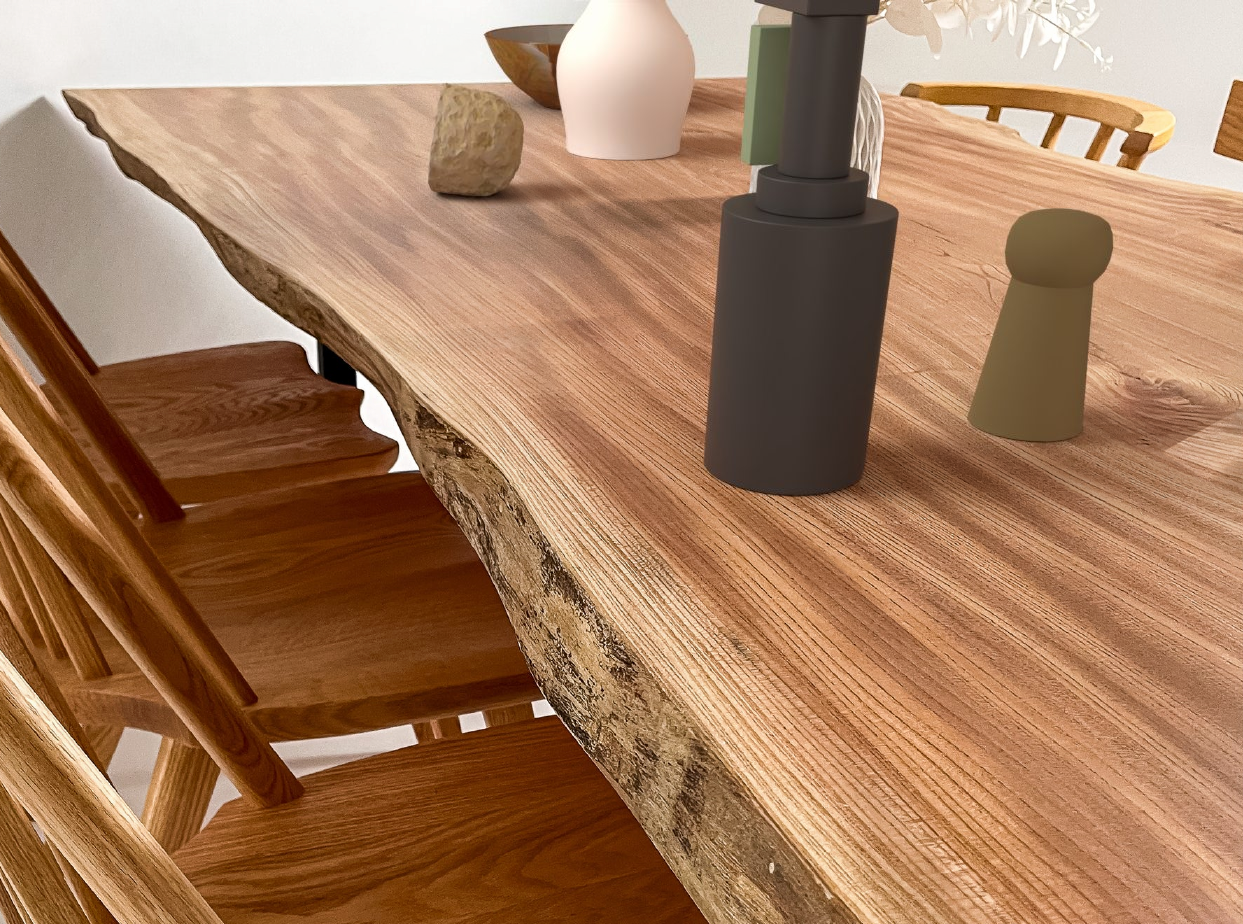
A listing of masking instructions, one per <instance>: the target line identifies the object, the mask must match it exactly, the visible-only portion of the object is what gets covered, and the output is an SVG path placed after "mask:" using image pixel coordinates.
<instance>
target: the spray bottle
mask: <svg viewBox="0 0 1243 924" xmlns="http://www.w3.org/2000/svg"><path fill="white" fill-rule="evenodd" d="M754 3H757V4H760V5H763V6H768V7H771V8H775V9H779V10H782V11H786V12H791V22H790V24H791V32H790V43H789V54H788V65H787V76H786V87H785V98H784V109H783V120H782V131H781V142H780V153H779V164H776V165H765V166H764V167H763V166H762V167H761V168H760V169H758V171H757V176H756V177H757V178H756V188H755V192H749V193H743V194H738V195H736V196H733V197H730V198H727V199H726V200H725V201H724V202H723V203H722V206H721V216H720V218H721V219H720V231H719V244H718V258H717V272H716V286H715V297H714V311H713V312H714V313H713V326H712V341H711V355H710V368H709V383H708V395H707V410H706V421H705V422H706V424H705V437H704V450H703V464H704V467H705V469H706V471H708V472H709V473H710V474H711V475H712V476H713V477H715V478H716V479H718V480H720V481H722V482H724V483H727V484H729V485H732V486H735V487H737V488H741V489H744V490H747V491H751V492H752V491H753V492H757V493H763V494H764V493H765V494H769V495H779V496H780V495H781V496H812V495H821V494H827V493H832V492H836V491H841V490H843V489H846V488H848V487H851V486H853V485H854V484H856V483H857V482H859V481H860V479H862V477H863V475H864V472H865V468H866V467H865V466H866V460H867V459H866V458H867V452H868V444H869V436H870V429H871V422H872V414H873V408H874V401H875V393H876V387H877V380H878V379H877V378H878V370H879V364H880V356H881V349H882V342H883V334H884V327H885V326H884V325H885V319H886V311H887V304H888V299H889V298H888V297H889V290H890V282H891V275H892V267H893V261H894V253H895V252H894V251H895V245H896V238H897V231H898V225H899V224H898V223H899V216H900V212H899V209H898V208H897V207H896V206H894V205H893V204H891V203H889V202H887V201H884V200H881V199H877V198H874V197H870V196H868V193H869V186H870V185H869V184H870V174H869V173H868V172H867V171H865V170H863V169H860V168H857V167H853V166H851V165H852V156H853V147H854V140H855V139H854V138H855V130H856V121H857V114H858V113H857V112H858V106H859V105H858V104H859V95H860V86H861V78H862V70H863V68H862V67H863V61H864V54H865V44H866V43H865V42H866V35H867V26H868V19H869V18H868V17H869V16H878V15H879V14H880V5H881V0H754Z"/></svg>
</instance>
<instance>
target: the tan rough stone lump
mask: <svg viewBox="0 0 1243 924" xmlns="http://www.w3.org/2000/svg"><path fill="white" fill-rule="evenodd" d="M437 101H438V102H437V108H436V115H435V117H434V120H435V123H434V127H433V133H432V138H431V139H432V140H431V145H430V150H429V151H430V152H429V161H428V169H427V170H428V171H427V184H428V186H429V189H430V190H431V191H432V192H434V193H443V194H450V195H458V196H459V195H460V196H468V197H469V196H470V197H488V196H491V195H494V194H496V193H499V192H502V191H504V190H505V189H506V188H507V187H508V186H510V183H511V182H512V180H513V179H515V177H516V173H517V172H518V171H519V168H520V165H521V164H522V153H523V147H524V133H525V124H524V121H523V119H522V116H521V115H520V114H519V112H518V111H517V110H515V109H514V108H512V105H511V104H510V102H508V101H506V100H505V99H504V97H502V96H500V95H498V94H496V93H493V92H491V91H487V90H479V89H477V88H468V87H464V86H462V85H457V84H450V83H448V82H445V83H442V87H441V90H439V96H438V100H437Z"/></svg>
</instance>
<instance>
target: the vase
mask: <svg viewBox="0 0 1243 924" xmlns="http://www.w3.org/2000/svg"><path fill="white" fill-rule="evenodd" d="M573 24H574V26H573V27H572V28H571V30H570V31H569V32H568V34H567V35H566V37H565V39H564V41H563V43H562V45H561V48H560V51H559V54H558V60H557V87H558V93H559V99H560V104H561V109H560V110H561V114H562V117H563V122H564V123H563V124H564V131H565V132H564V133H565V150H566V151H567V152H568V153H569V154H572V155H575V156H578V157H583V158H591V159H598V160H614V161H615V160H616V161H642V160H643V161H644V160H653V159H663V158H667V157H671V156H675V155H677V154H678V153H679V152H680V150H681V138H682V133H683V128H684V124H685V119H686V116H687V112H688V109H689V105H690V102H691V98H692V94H693V90H694V83H695V76H696V59H695V53H694V49H693V45H692V44H691V43H692V42H690V39H689V35H688V34H686V33H687V32H685V30H684V28H683V27H682V25H681V24H680V23H679V21H678V20H677V18H676V17H675V16H674V14H673V13H672V11H671V9H670V7H669V5H668V4H667V1H666V0H590V1H589V3H588V4H587V7H586V8H585V9H584V11H583V13H582V14H581V15H580V16H579V18H578V19H577V20H576V22H575V23H573ZM687 35H688V36H687Z"/></svg>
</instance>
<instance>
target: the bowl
mask: <svg viewBox="0 0 1243 924" xmlns="http://www.w3.org/2000/svg"><path fill="white" fill-rule="evenodd" d="M574 24H575V23H555V24H554V23H553V24H550V23H549V24H530V25H528V24H527V25H517V26H508V27H502V28H501V27H500V28H495V29H491V30H488V31H486V32H485V33H484V34H483V36H484V38H485V41H486V43H487V45H488V48H489V50H490V52H491V54H492V56H493V57H494V60H495V61H496V63H497V64H498V66H499V67H500V70H502V72H503V73H504V74H505V76H506V77H507V78H508V79H509V80H510V82H511V83H513V85H514V86H515V87H517V89H519V90H521V91H522V92H523V93H525V94H526V95H527V96H528V97H530V98H531V99H532V100H534V101H535V102H537V103H538V104H540V105H541V106H542V107H545V108H549V109H550V108H551V109H555V110H562V109H561V104H560V99H559V93H558V87H557V60H558V54H559V51H560V48H561V45H562V43H563V41H564V39H565V37H566V35H567V34H568V32H569V31H570V30H571V28H572V27H573V26H574ZM686 35H687V36H688V37H689V35H688V34H686Z"/></svg>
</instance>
